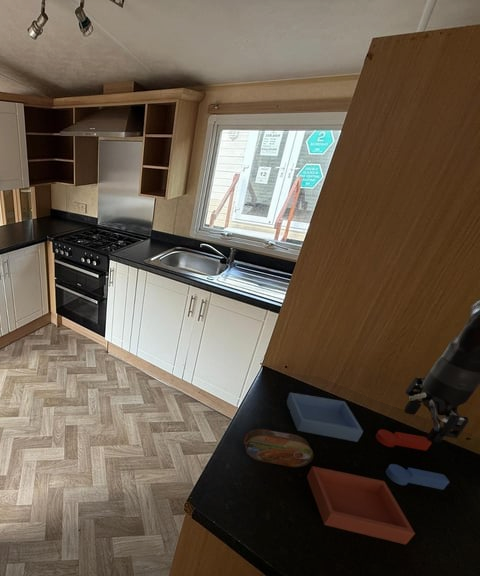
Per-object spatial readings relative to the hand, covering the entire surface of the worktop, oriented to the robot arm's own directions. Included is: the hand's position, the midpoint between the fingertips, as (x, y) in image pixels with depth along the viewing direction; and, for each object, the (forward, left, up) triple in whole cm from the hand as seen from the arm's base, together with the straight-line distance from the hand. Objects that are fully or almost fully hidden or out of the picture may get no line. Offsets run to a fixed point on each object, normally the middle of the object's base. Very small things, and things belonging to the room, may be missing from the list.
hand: (419, 426), depth 79 cm
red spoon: (+2, 0, -7) cm, 7 cm away
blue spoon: (+5, +11, -7) cm, 14 cm away
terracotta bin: (+22, +22, -7) cm, 31 cm away
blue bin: (+20, -3, -7) cm, 21 cm away
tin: (+36, +13, -7) cm, 39 cm away
